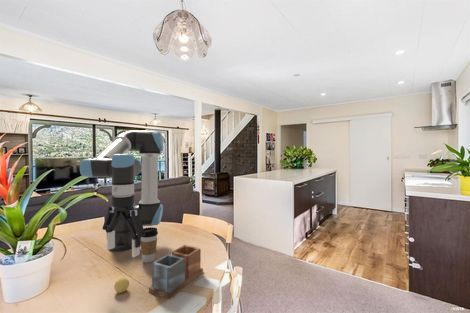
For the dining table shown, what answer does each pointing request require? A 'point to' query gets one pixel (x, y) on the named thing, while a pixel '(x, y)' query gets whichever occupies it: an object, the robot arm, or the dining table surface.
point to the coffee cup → (149, 244)
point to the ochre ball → (121, 284)
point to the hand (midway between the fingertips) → (123, 252)
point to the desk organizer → (175, 271)
